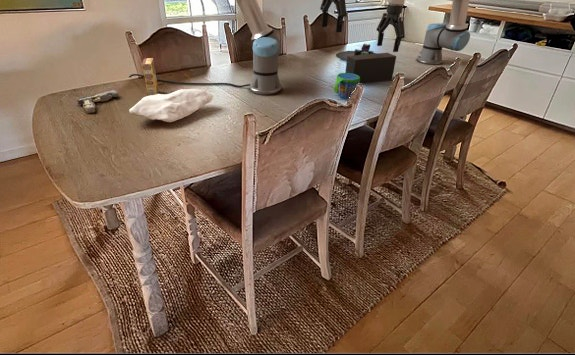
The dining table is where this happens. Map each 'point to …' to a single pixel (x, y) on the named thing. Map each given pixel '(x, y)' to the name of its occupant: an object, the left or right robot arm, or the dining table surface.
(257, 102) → the dining table surface
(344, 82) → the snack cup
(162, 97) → the crumpled cloth
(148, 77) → the candy box
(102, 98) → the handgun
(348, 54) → the grey disc with mount
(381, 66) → the box
